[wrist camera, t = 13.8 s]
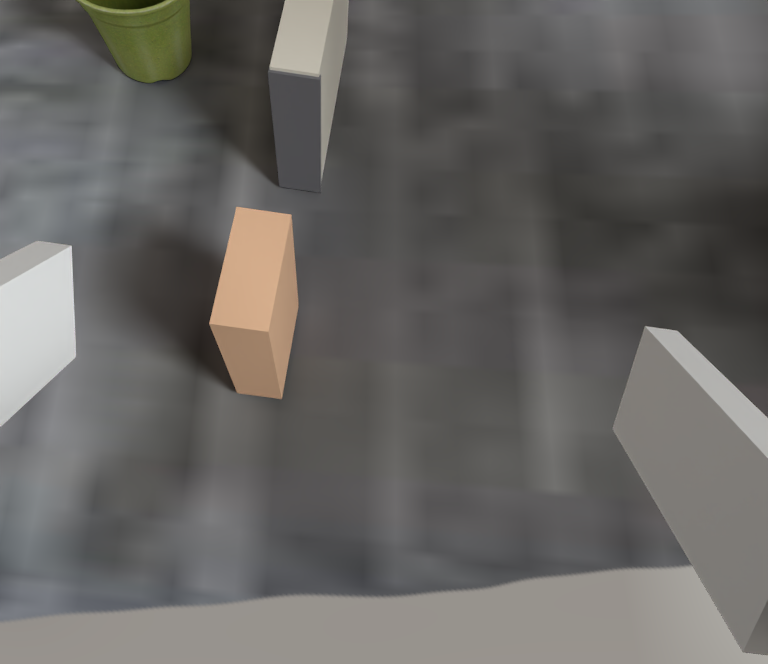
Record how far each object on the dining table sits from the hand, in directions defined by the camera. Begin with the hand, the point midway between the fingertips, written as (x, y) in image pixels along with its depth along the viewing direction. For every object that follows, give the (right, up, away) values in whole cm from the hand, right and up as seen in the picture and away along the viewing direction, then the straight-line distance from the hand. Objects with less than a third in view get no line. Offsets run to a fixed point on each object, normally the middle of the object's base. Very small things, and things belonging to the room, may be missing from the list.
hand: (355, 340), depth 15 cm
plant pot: (-18, +23, +40) cm, 50 cm away
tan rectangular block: (-7, -1, +31) cm, 32 cm away
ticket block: (-5, +19, +39) cm, 44 cm away
